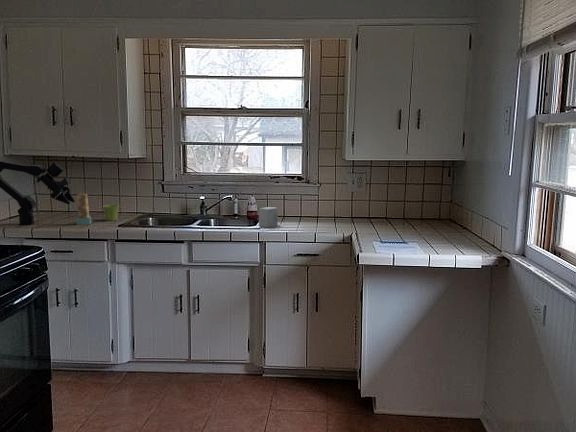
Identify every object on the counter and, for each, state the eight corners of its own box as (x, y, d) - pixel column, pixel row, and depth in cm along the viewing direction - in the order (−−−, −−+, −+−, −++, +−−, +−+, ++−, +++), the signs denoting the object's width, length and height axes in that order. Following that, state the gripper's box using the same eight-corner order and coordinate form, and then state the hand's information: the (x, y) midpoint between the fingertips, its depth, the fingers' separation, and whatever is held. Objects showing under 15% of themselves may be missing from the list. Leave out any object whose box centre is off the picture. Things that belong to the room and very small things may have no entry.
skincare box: (268, 227, 296) (268, 209, 294) (258, 226, 299) (258, 208, 298) (278, 225, 305) (278, 207, 303) (268, 224, 308) (268, 206, 306)
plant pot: (109, 222, 310) (108, 207, 309) (100, 220, 316) (99, 205, 314) (123, 220, 317) (122, 205, 316) (113, 218, 323) (113, 204, 322)
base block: (76, 225, 299) (76, 218, 298) (78, 223, 305) (78, 216, 305) (89, 225, 300) (89, 218, 300) (91, 223, 307) (91, 216, 306)
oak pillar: (78, 218, 299) (76, 195, 297) (81, 216, 304) (79, 194, 302) (87, 217, 300) (85, 194, 298) (89, 216, 304) (87, 194, 302)
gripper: (55, 174, 288) (77, 194, 291) (66, 172, 306) (86, 191, 309) (41, 188, 288) (63, 208, 291) (52, 185, 307) (72, 204, 309)
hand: (71, 202), depth 300 cm, fingers open, 9 cm apart
